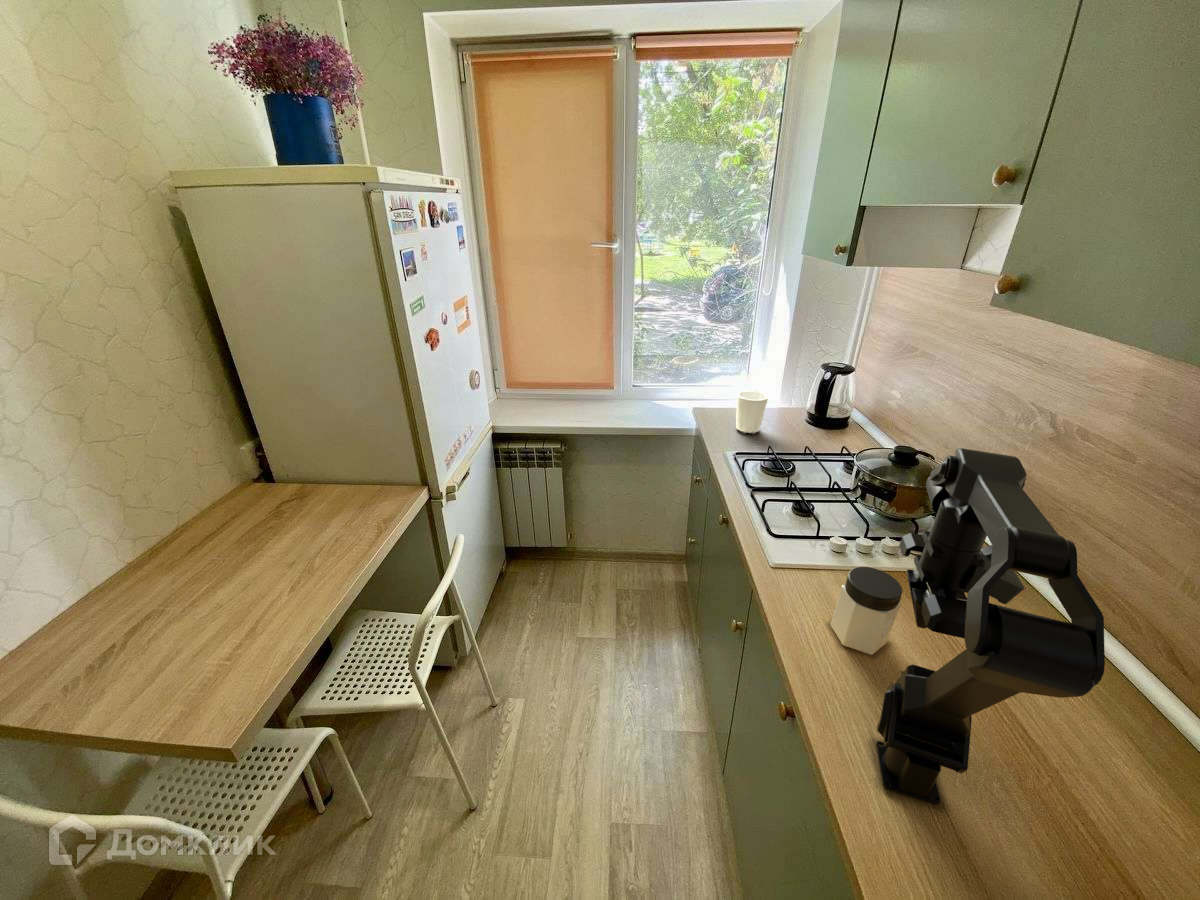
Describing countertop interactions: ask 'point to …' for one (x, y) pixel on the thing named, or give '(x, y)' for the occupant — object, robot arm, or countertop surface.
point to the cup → (750, 411)
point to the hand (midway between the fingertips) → (920, 626)
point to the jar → (866, 609)
